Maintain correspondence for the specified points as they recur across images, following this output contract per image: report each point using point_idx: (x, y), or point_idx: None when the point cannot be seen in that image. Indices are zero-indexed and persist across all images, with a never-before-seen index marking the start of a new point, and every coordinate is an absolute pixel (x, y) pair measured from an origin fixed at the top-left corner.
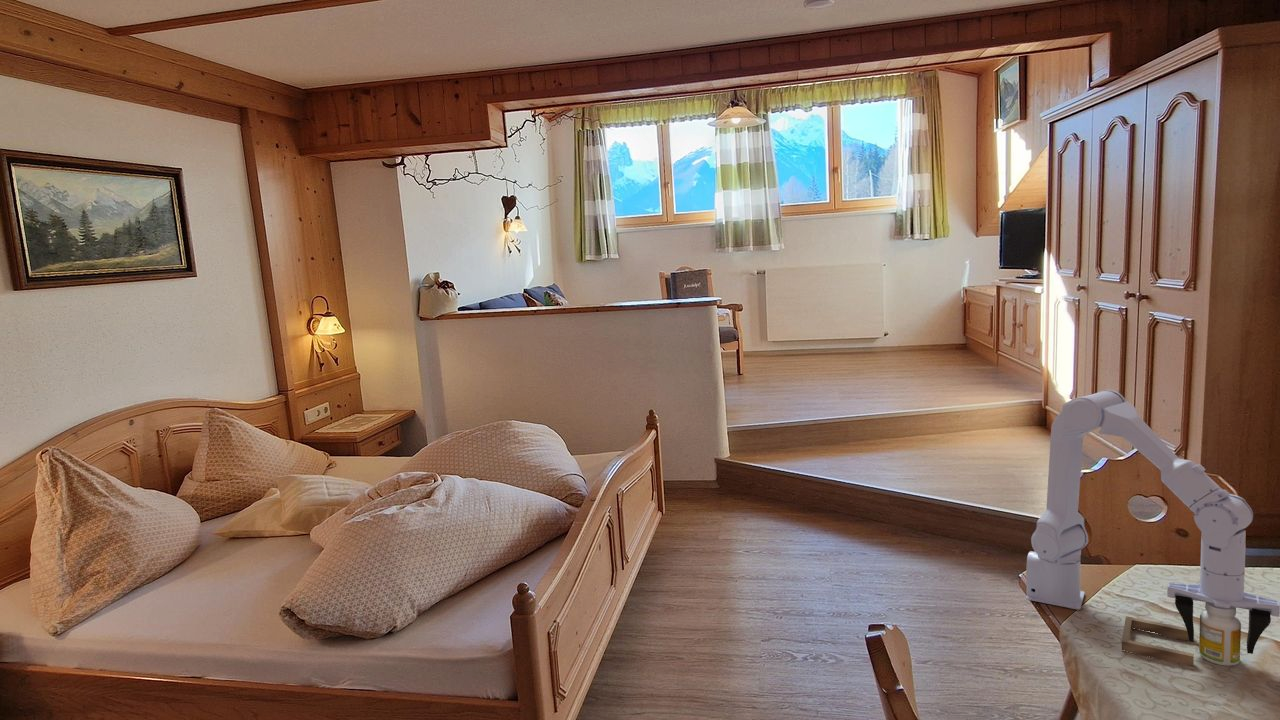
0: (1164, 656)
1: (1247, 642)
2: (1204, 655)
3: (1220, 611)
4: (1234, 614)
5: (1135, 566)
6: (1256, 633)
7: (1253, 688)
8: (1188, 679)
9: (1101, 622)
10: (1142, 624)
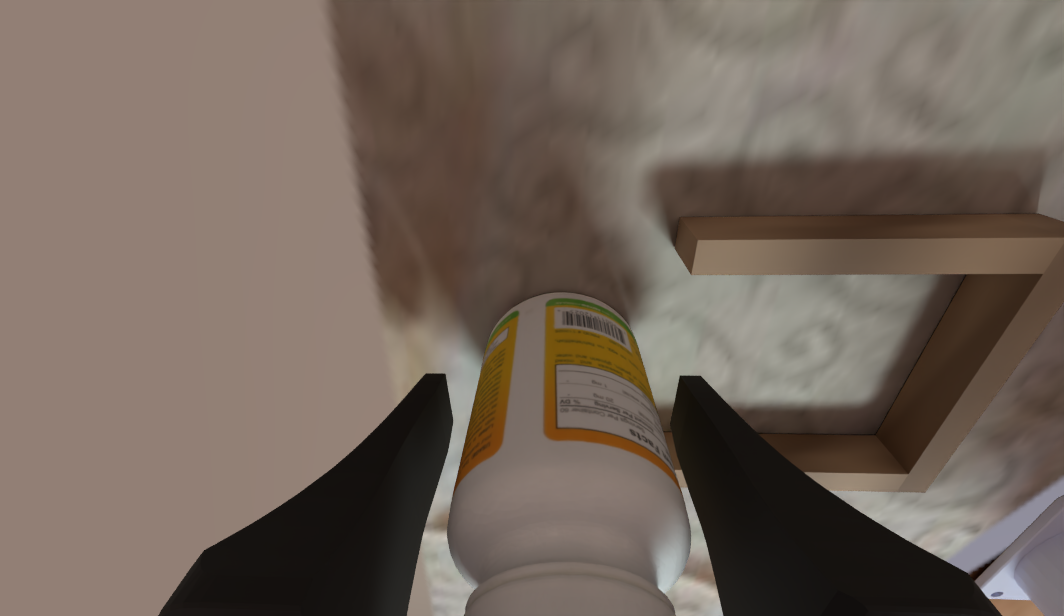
0: (829, 225)
1: (440, 433)
2: (623, 323)
3: None
4: (468, 613)
5: None
6: (351, 470)
7: (415, 126)
8: (735, 35)
9: (998, 439)
10: (854, 461)
